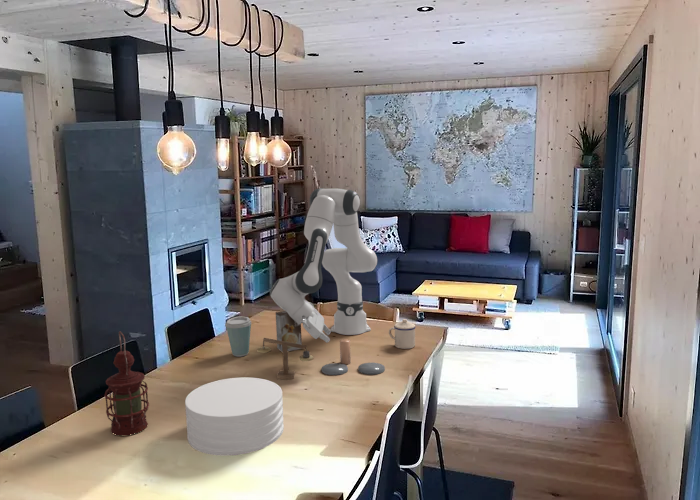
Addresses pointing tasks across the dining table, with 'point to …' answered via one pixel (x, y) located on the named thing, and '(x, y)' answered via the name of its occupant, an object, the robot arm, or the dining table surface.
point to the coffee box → (287, 330)
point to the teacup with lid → (404, 334)
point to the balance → (286, 356)
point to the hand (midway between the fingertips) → (329, 337)
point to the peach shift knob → (345, 351)
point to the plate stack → (234, 416)
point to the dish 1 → (334, 369)
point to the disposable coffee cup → (239, 335)
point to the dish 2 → (371, 368)
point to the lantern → (126, 396)
